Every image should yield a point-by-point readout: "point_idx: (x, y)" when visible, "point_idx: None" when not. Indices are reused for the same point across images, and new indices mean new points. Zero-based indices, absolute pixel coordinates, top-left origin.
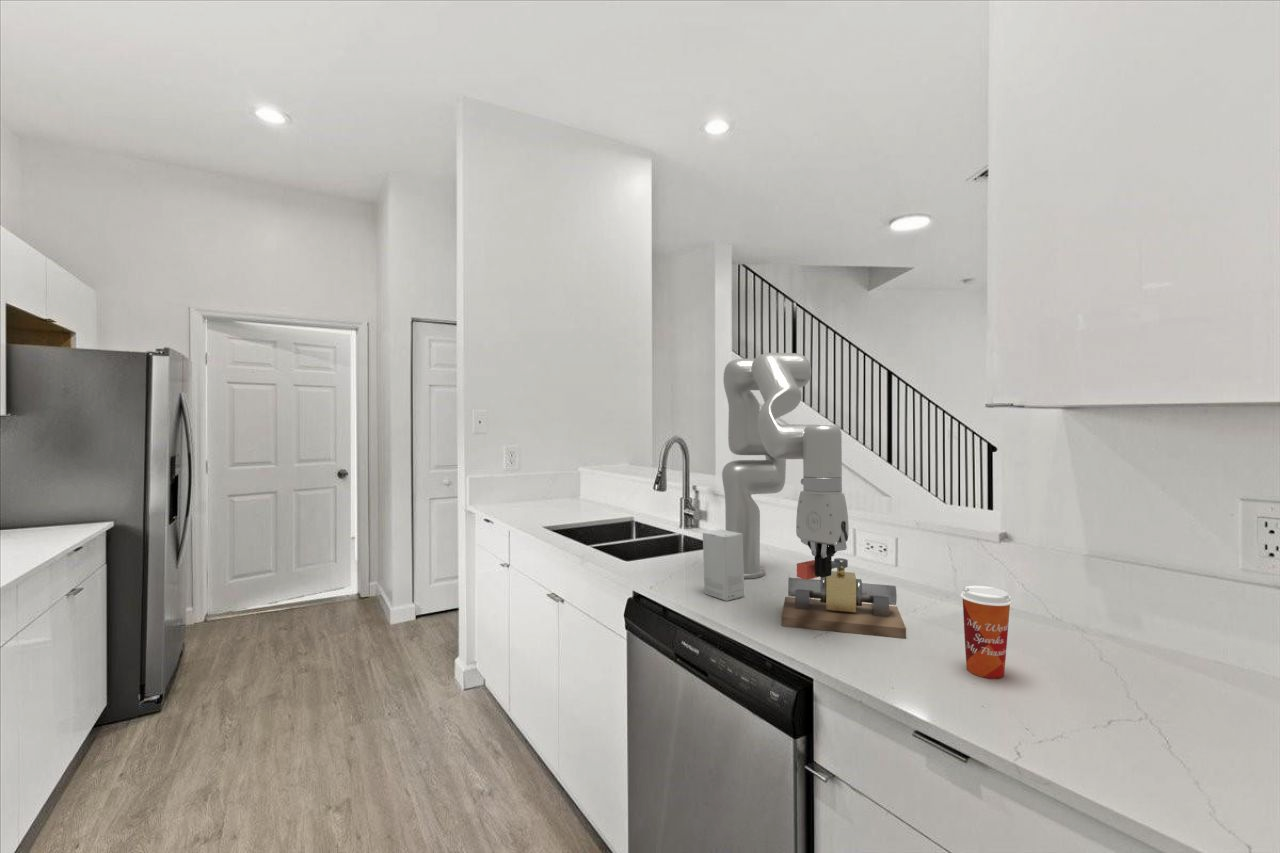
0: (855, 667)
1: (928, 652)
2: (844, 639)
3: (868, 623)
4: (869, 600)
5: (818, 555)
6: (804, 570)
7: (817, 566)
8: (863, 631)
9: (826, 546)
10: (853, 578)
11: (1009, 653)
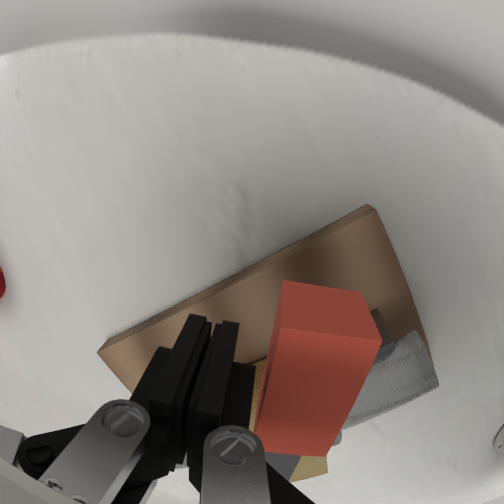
0: (79, 104)
1: (50, 296)
2: (178, 241)
3: (157, 335)
4: None
5: (200, 438)
6: (304, 311)
7: (208, 358)
8: (167, 311)
9: (51, 469)
10: None
11: (20, 363)
